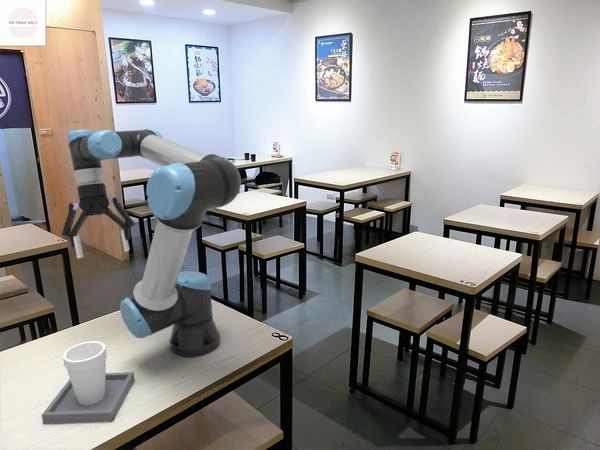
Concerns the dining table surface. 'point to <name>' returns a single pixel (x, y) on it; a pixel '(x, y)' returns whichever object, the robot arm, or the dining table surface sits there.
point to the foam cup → (87, 371)
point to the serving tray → (105, 410)
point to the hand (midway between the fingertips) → (103, 254)
